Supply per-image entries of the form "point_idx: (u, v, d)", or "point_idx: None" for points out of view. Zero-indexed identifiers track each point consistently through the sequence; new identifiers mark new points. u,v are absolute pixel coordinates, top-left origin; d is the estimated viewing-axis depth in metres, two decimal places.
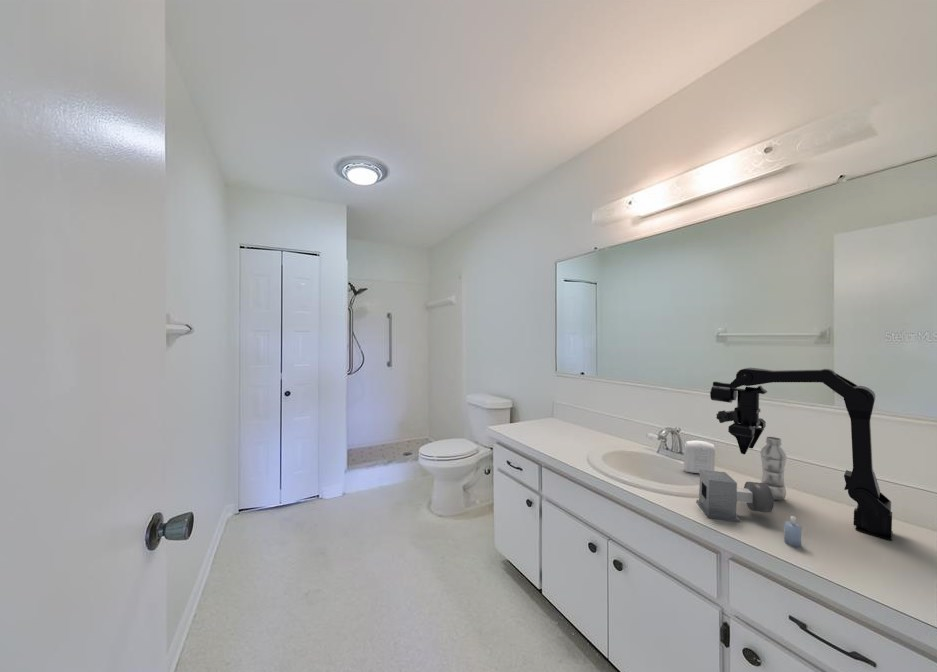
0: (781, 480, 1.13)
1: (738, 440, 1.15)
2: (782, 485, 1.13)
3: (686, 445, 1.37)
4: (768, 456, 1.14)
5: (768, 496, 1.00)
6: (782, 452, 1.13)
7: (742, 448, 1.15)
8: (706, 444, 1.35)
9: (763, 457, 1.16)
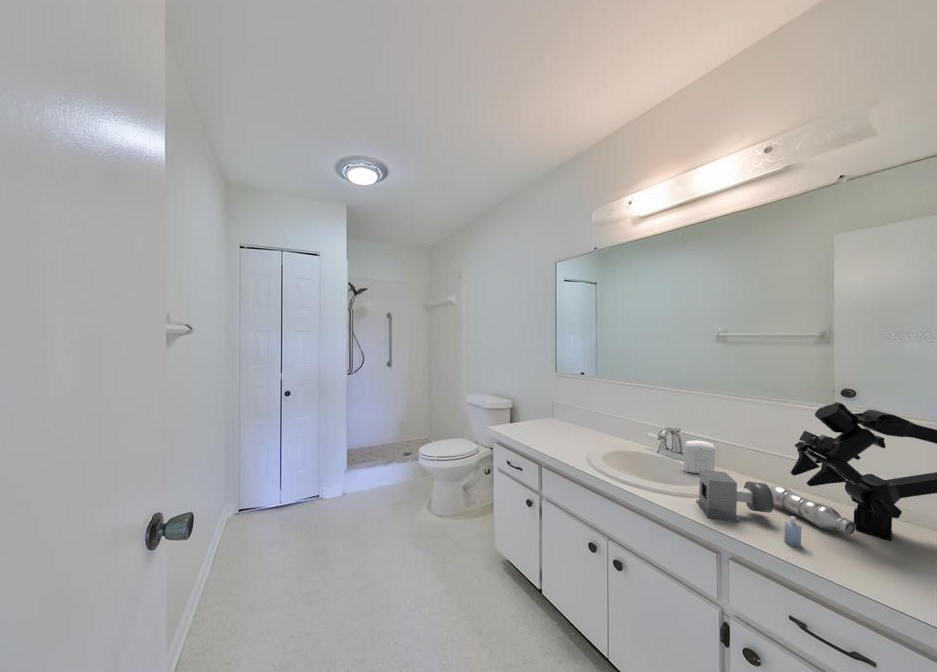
0: None
1: (823, 474, 0.96)
2: None
3: (686, 445, 1.37)
4: None
5: (768, 496, 1.00)
6: None
7: (814, 480, 0.97)
8: (706, 444, 1.35)
9: None
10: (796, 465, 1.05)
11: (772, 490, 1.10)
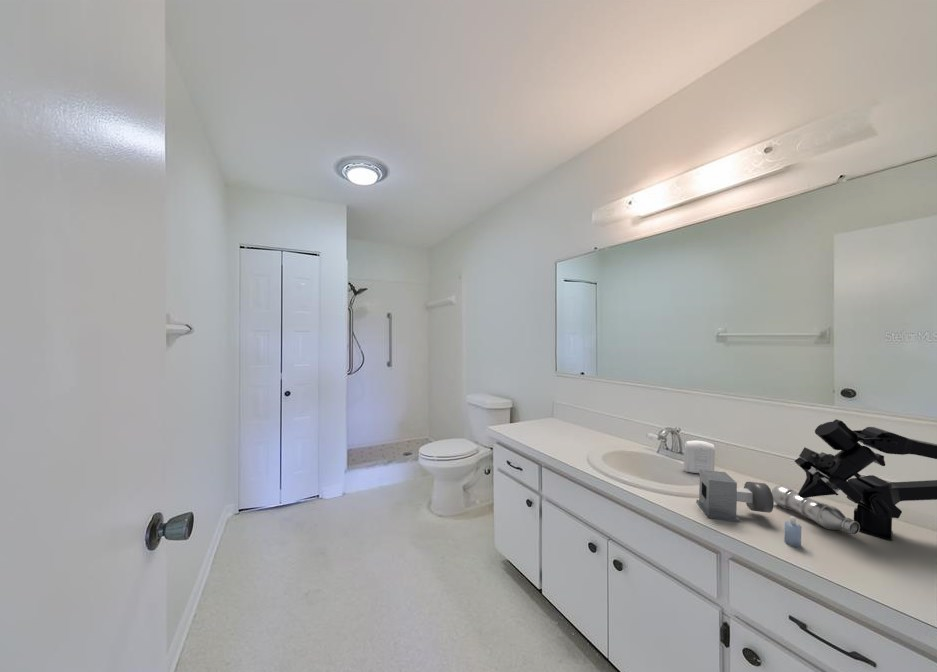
0: None
1: (814, 486, 0.99)
2: None
3: (686, 445, 1.37)
4: (823, 526, 0.98)
5: (768, 496, 1.00)
6: None
7: (806, 492, 1.00)
8: (706, 444, 1.35)
9: (817, 521, 0.99)
10: (804, 486, 1.01)
11: (779, 487, 1.10)
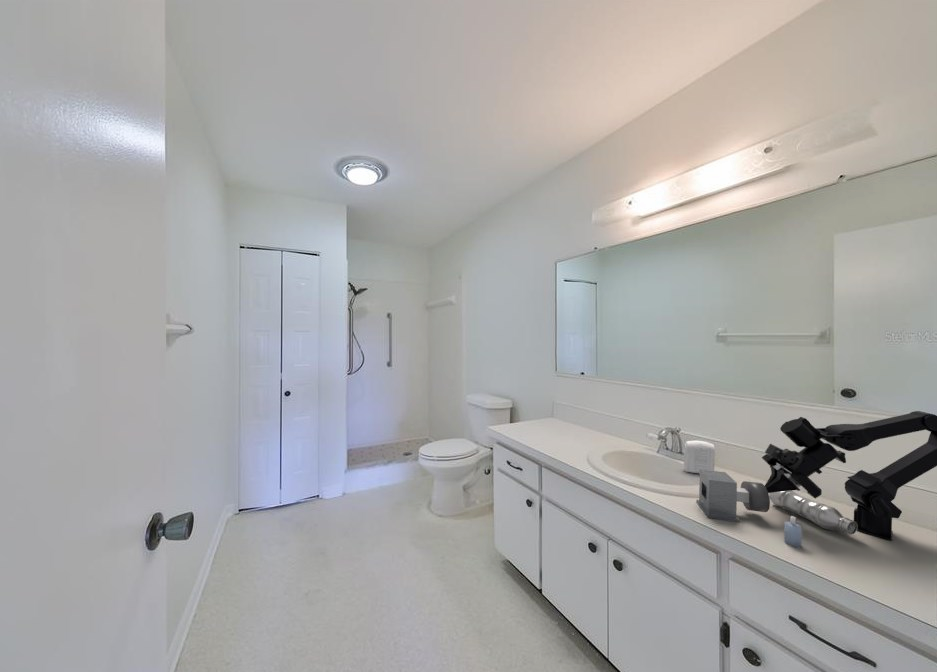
0: None
1: (778, 481, 1.01)
2: None
3: (686, 445, 1.37)
4: (823, 527, 0.98)
5: (764, 496, 1.01)
6: None
7: (770, 488, 1.03)
8: (706, 444, 1.35)
9: (816, 523, 0.99)
10: (768, 482, 1.04)
11: None
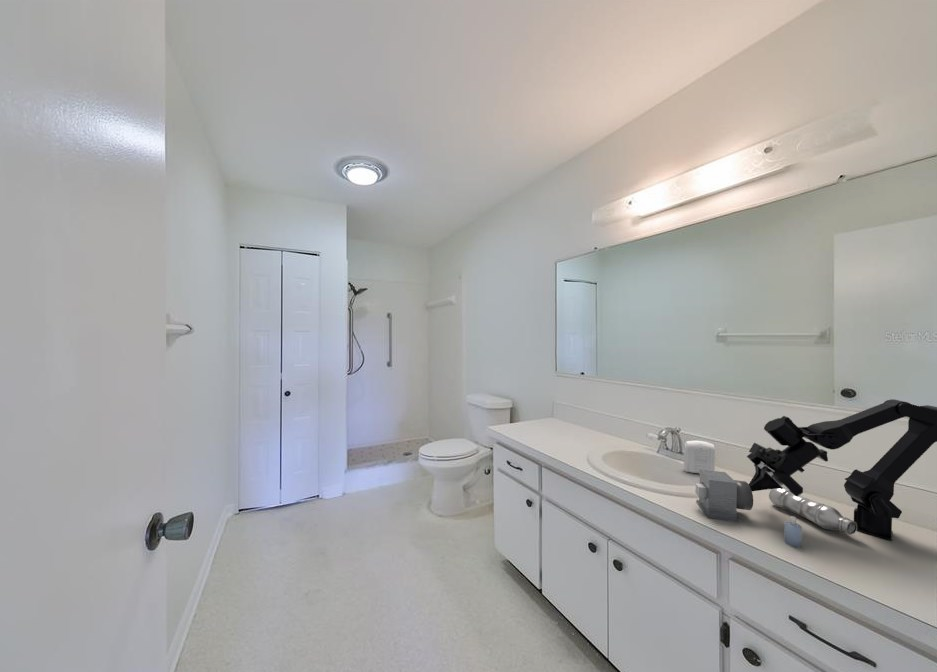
0: None
1: (761, 480, 1.02)
2: None
3: (686, 445, 1.37)
4: (823, 527, 0.98)
5: (748, 494, 1.02)
6: None
7: (754, 486, 1.04)
8: (706, 444, 1.35)
9: (816, 523, 0.99)
10: (752, 480, 1.05)
11: (775, 489, 1.10)
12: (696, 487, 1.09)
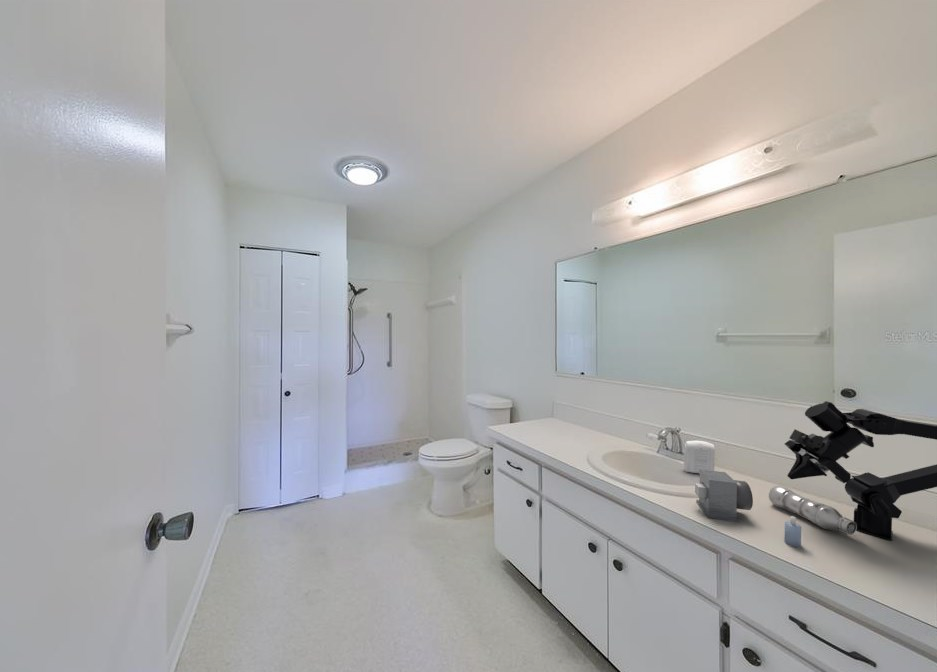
0: None
1: (804, 467, 1.00)
2: None
3: (686, 445, 1.37)
4: (823, 527, 0.98)
5: (747, 494, 1.02)
6: None
7: (796, 474, 1.01)
8: (706, 444, 1.35)
9: (816, 524, 0.99)
10: (793, 468, 1.02)
11: (774, 489, 1.10)
12: (696, 487, 1.09)
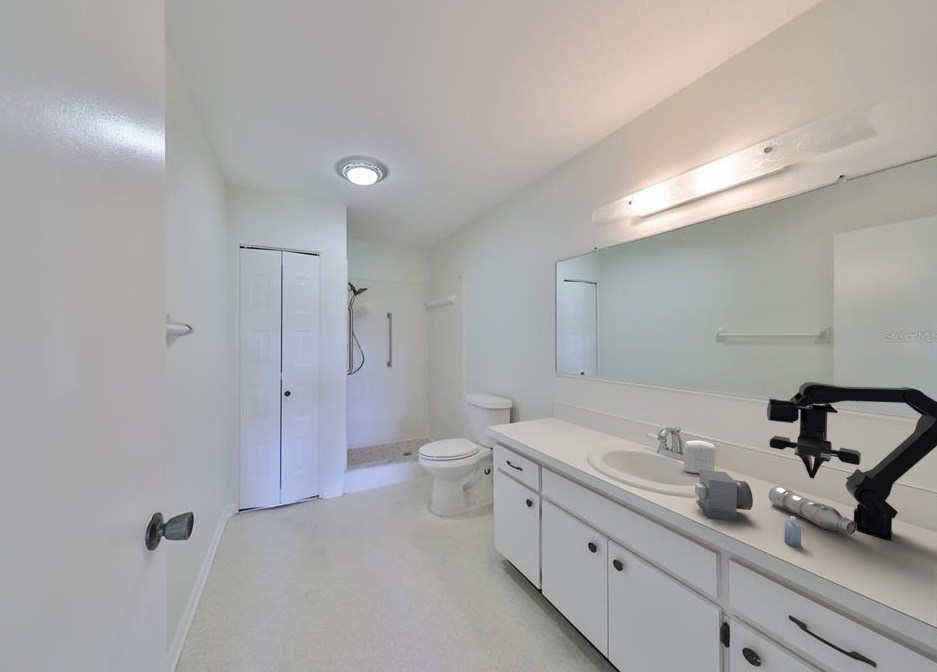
0: None
1: None
2: None
3: (686, 445, 1.37)
4: (823, 527, 0.98)
5: (747, 494, 1.02)
6: None
7: (815, 472, 1.03)
8: (706, 444, 1.35)
9: (816, 524, 0.99)
10: (809, 469, 1.03)
11: (774, 489, 1.10)
12: (696, 487, 1.09)
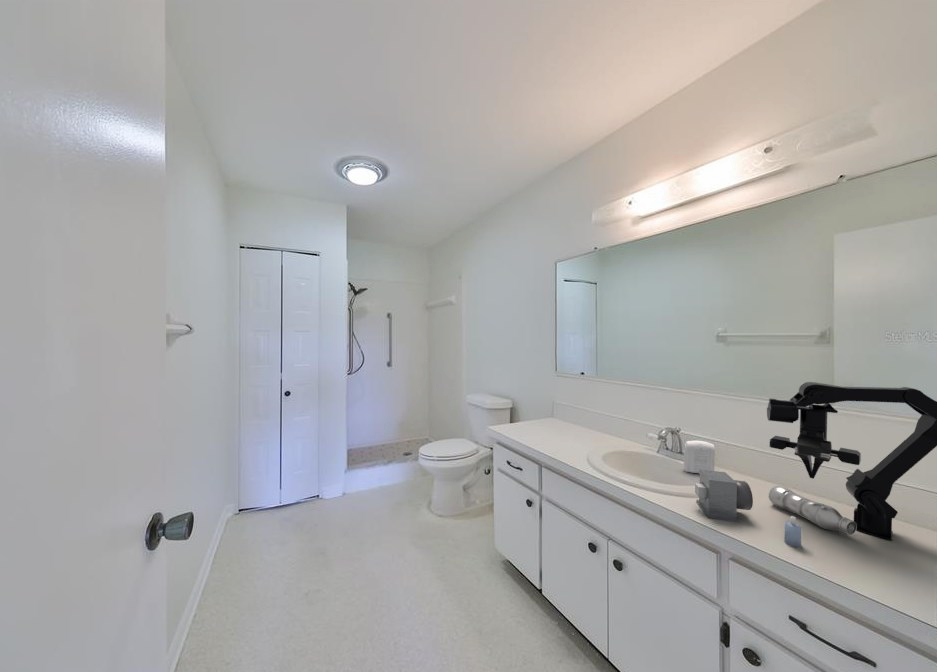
0: None
1: None
2: None
3: (686, 445, 1.37)
4: (823, 527, 0.98)
5: (747, 494, 1.02)
6: None
7: (815, 472, 1.03)
8: (706, 444, 1.35)
9: (816, 524, 0.99)
10: (809, 469, 1.03)
11: (774, 489, 1.10)
12: (696, 487, 1.09)
